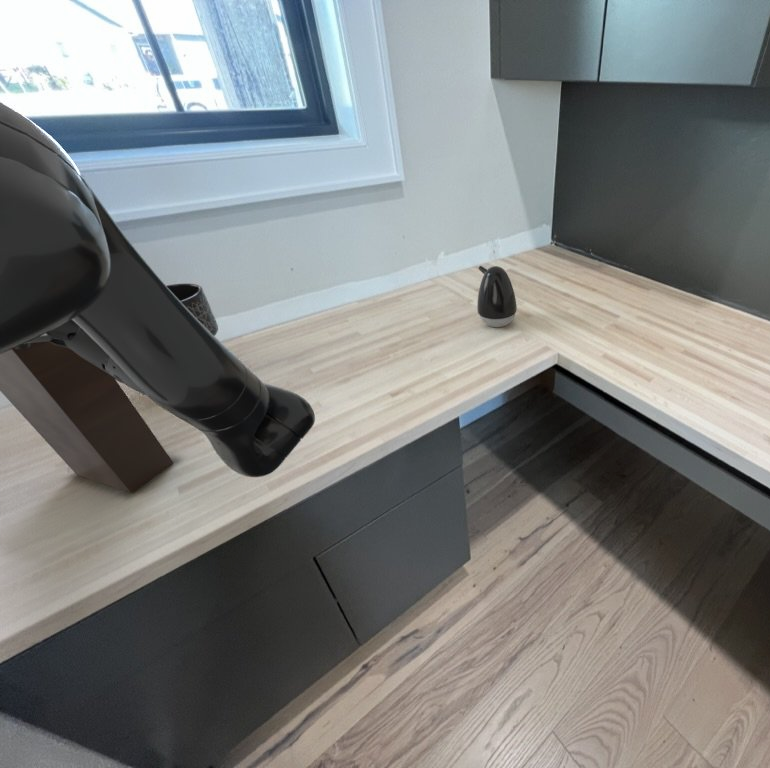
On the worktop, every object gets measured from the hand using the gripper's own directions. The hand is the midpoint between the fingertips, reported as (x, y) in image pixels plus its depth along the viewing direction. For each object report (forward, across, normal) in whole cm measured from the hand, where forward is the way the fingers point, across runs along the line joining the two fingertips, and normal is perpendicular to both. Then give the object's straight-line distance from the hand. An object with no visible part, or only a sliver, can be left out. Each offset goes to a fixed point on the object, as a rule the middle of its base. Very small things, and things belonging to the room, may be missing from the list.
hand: (9, 268), depth 47 cm
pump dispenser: (-46, -68, +14) cm, 83 cm away
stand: (-10, 0, +35) cm, 37 cm away
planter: (+4, -28, +43) cm, 51 cm away
